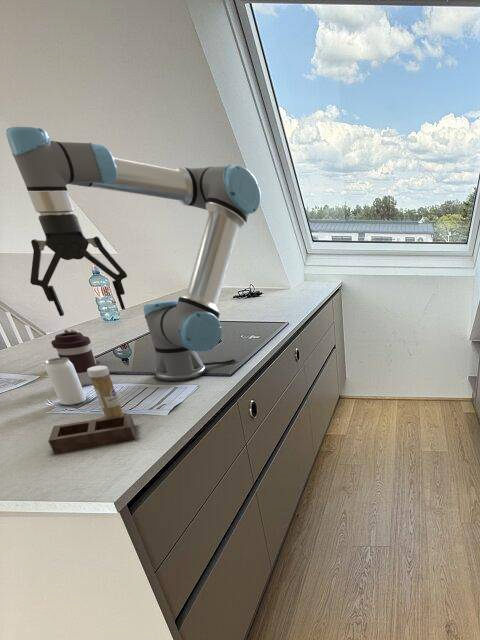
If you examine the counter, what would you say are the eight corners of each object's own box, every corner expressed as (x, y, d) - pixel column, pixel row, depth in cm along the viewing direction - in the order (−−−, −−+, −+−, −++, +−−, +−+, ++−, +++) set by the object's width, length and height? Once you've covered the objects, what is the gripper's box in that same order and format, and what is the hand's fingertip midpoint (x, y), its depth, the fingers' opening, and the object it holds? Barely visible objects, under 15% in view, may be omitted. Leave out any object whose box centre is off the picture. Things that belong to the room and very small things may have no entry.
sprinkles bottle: (121, 419, 120) (103, 369, 113) (102, 421, 119) (83, 370, 112) (126, 413, 124) (109, 364, 117) (108, 414, 123) (90, 365, 116)
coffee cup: (61, 385, 143) (40, 336, 135) (90, 375, 151) (72, 329, 143) (83, 389, 140) (63, 339, 132) (111, 379, 148) (94, 332, 140)
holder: (134, 426, 116) (130, 413, 115) (135, 440, 110) (130, 427, 108) (59, 439, 110) (53, 425, 108) (54, 454, 103) (48, 440, 101)
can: (74, 406, 128) (57, 364, 121) (55, 404, 129) (36, 363, 122) (92, 398, 133) (76, 357, 127) (73, 396, 134) (56, 356, 128)
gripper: (117, 211, 111) (146, 303, 123) (-8, 215, 101) (36, 314, 113) (118, 212, 105) (148, 308, 117) (-15, 216, 95) (32, 320, 107)
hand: (93, 311), depth 115 cm, fingers open, 13 cm apart
